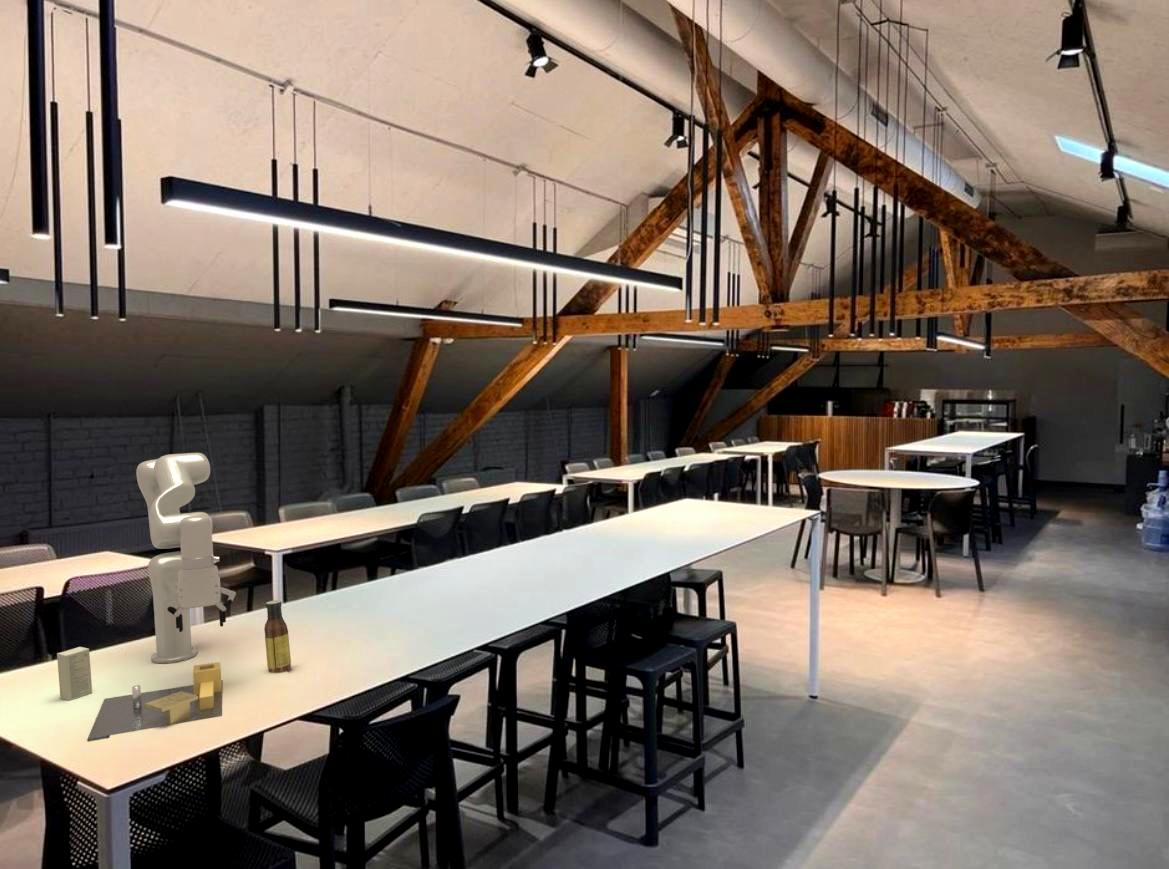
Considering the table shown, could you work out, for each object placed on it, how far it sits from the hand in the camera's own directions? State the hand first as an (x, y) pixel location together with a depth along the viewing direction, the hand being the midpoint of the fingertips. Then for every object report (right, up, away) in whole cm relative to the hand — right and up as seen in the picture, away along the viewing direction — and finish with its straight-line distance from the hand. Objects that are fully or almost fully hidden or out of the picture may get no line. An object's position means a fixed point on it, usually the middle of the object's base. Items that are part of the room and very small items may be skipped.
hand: (201, 628), depth 212 cm
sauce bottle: (+14, -16, +16) cm, 27 cm away
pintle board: (-5, -18, -10) cm, 21 cm away
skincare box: (-34, -19, +2) cm, 39 cm away
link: (+3, -17, -4) cm, 18 cm away
